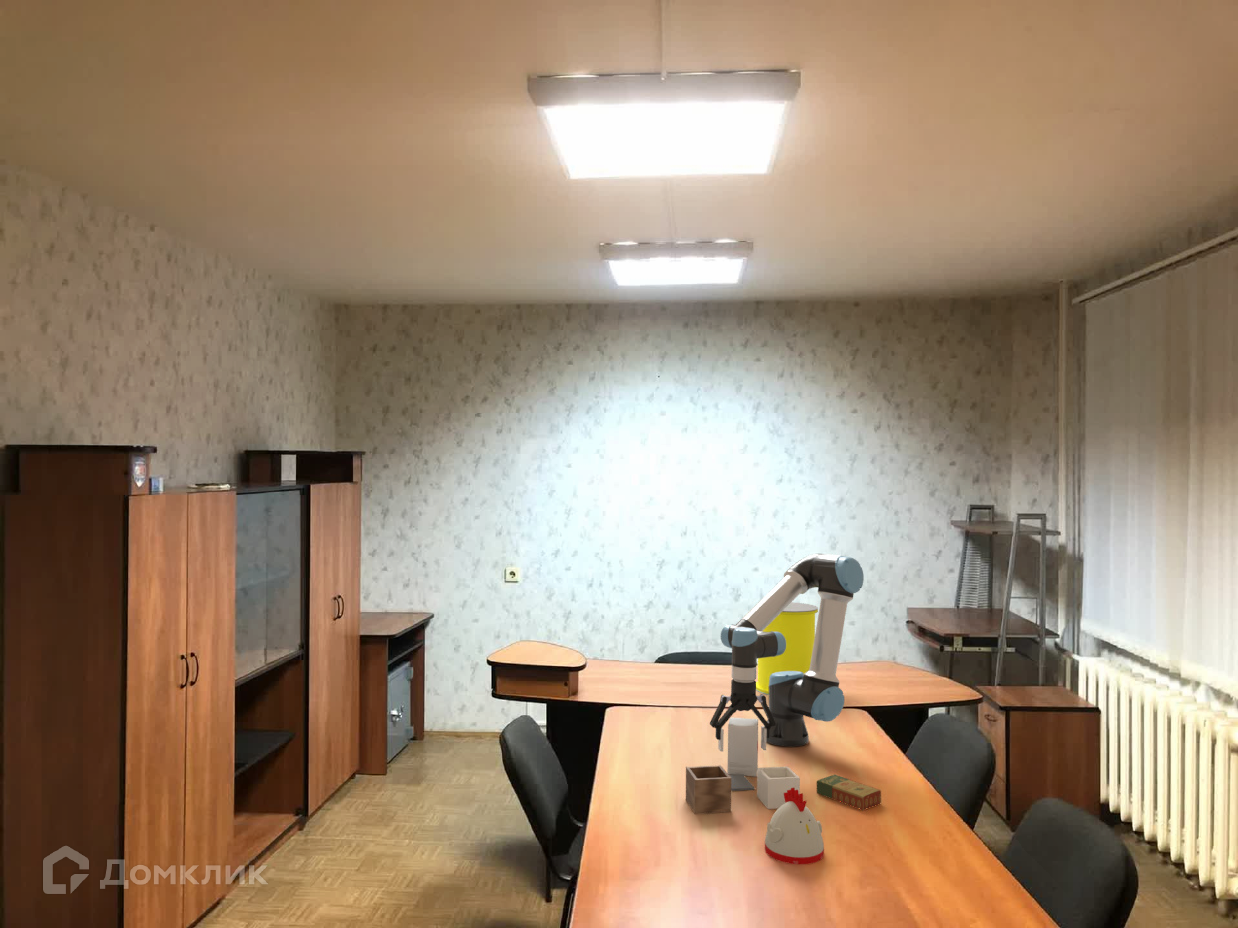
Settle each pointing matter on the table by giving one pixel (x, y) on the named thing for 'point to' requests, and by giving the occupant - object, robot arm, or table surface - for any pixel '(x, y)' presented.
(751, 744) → the supplement box
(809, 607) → the container
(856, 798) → the carton
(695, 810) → the walnut pot
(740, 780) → the coaster
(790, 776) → the ceramic pot
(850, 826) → the table surface
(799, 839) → the kitchen timer
